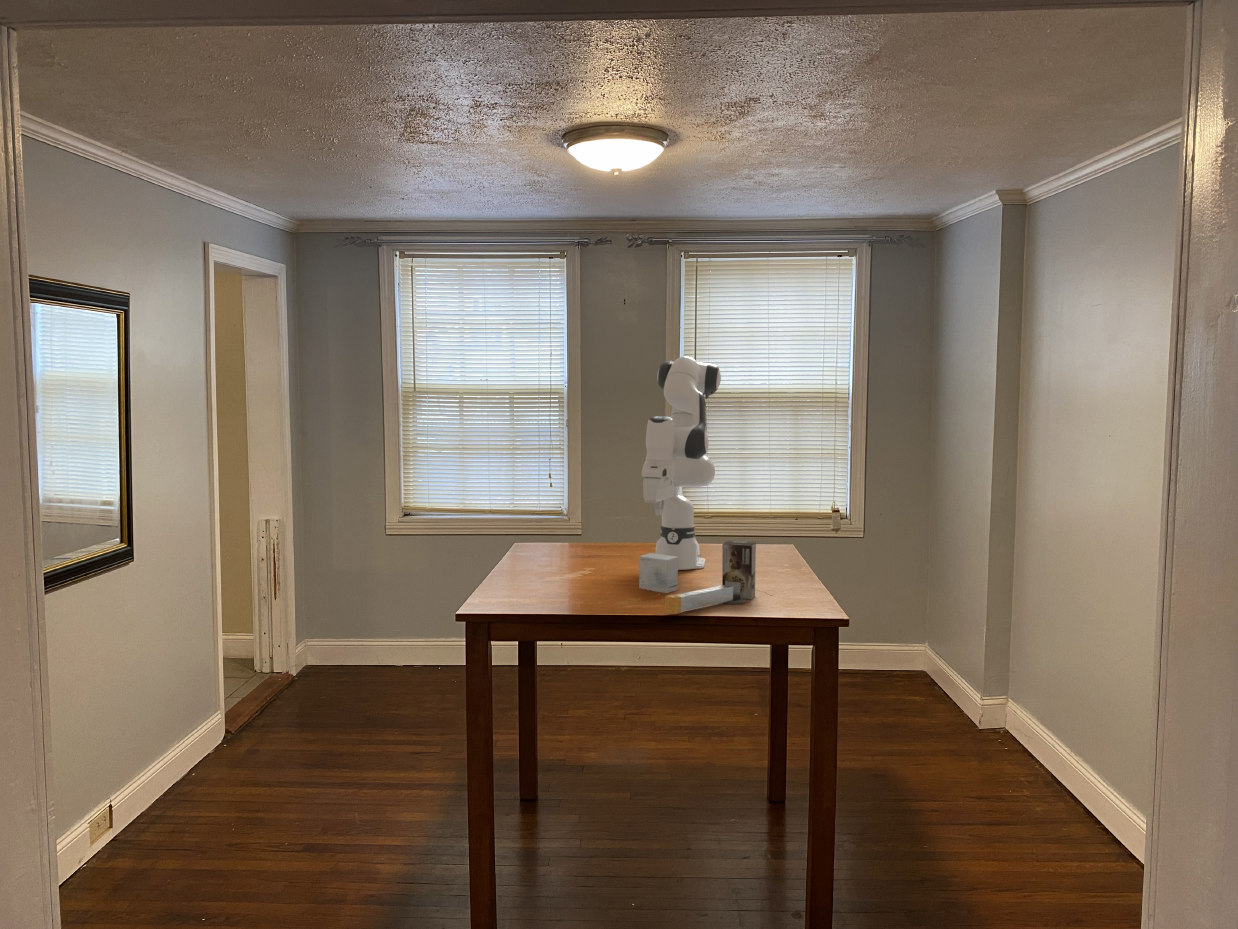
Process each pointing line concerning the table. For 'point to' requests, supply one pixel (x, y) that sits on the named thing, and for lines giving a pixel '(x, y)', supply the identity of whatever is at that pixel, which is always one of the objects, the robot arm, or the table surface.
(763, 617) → the table surface
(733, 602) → the hinge base
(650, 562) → the skincare box
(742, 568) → the coffee box
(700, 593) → the grey long bar
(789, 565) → the table surface
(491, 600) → the table surface
